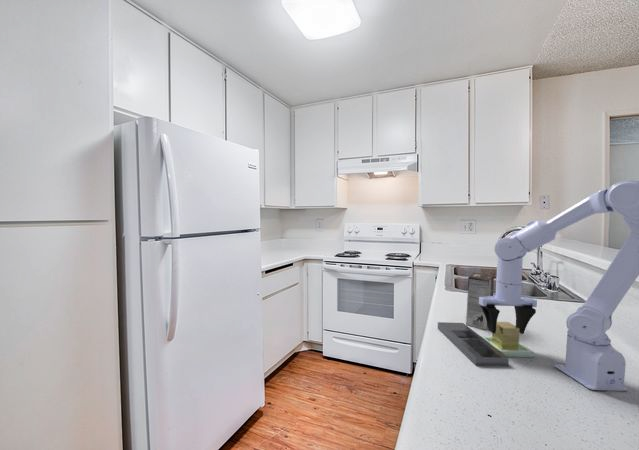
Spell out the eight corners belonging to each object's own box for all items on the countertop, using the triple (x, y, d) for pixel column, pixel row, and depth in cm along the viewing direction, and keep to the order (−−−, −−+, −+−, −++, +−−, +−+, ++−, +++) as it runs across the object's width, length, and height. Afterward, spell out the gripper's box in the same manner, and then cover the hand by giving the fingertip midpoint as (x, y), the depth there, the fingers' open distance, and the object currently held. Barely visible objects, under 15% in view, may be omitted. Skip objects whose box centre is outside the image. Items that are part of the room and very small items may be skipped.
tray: (533, 357, 75) (534, 352, 75) (498, 356, 75) (499, 351, 74) (510, 341, 84) (510, 336, 84) (479, 341, 84) (479, 336, 83)
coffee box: (471, 317, 103) (473, 272, 102) (492, 322, 99) (495, 275, 98) (465, 324, 96) (467, 276, 95) (487, 330, 92) (490, 279, 91)
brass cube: (518, 350, 77) (519, 328, 77) (501, 350, 77) (502, 328, 77) (507, 343, 81) (508, 322, 81) (491, 342, 81) (492, 321, 81)
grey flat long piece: (508, 365, 70) (508, 357, 70) (475, 365, 70) (475, 356, 70) (462, 329, 92) (463, 322, 92) (437, 328, 92) (437, 321, 92)
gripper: (524, 279, 82) (522, 326, 83) (473, 278, 82) (471, 325, 83) (544, 285, 75) (541, 337, 76) (488, 284, 75) (485, 336, 76)
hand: (505, 332), depth 79 cm, fingers open, 7 cm apart
